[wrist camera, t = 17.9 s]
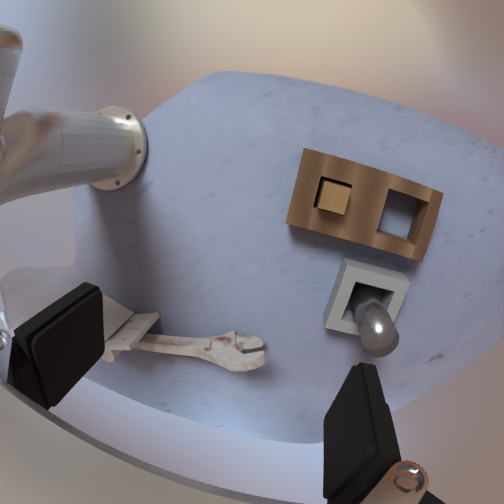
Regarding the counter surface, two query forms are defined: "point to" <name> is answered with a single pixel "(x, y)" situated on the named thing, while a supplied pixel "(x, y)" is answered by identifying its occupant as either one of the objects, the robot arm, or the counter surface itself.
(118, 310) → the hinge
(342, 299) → the holder
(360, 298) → the grey metal rounded cylinder
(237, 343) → the wrench
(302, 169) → the socket block
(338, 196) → the tan square peg
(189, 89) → the counter surface
